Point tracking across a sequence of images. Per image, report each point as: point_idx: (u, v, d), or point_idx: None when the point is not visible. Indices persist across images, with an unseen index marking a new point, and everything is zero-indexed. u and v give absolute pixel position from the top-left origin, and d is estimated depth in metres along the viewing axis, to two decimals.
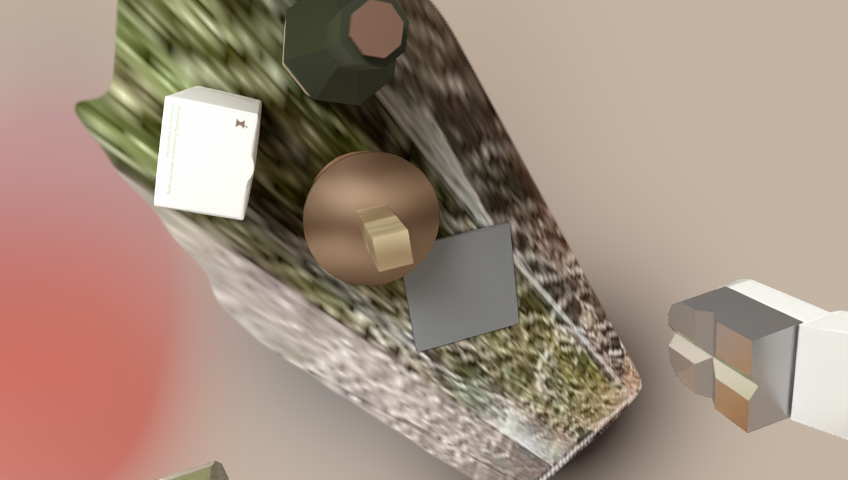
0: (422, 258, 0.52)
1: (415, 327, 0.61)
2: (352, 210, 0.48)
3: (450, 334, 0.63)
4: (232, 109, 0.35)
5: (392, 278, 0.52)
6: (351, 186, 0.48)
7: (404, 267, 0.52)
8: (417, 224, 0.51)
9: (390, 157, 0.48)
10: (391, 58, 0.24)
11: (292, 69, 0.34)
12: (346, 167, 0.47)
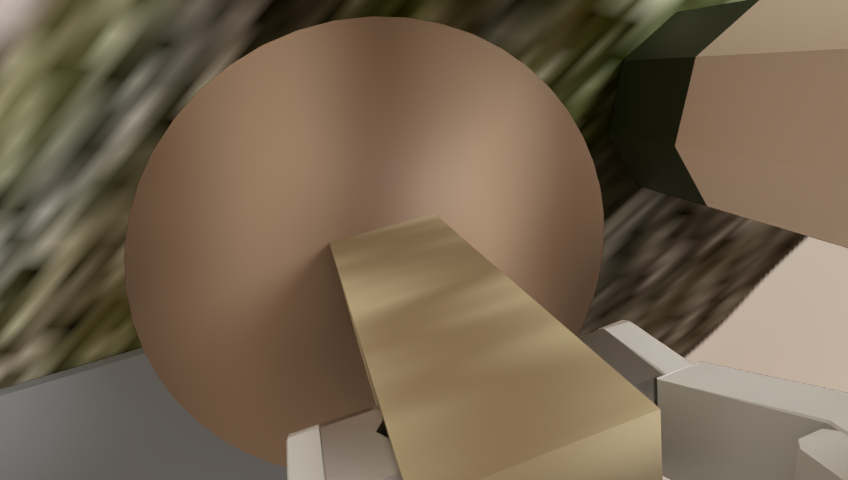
0: (261, 452, 0.15)
1: None
2: (435, 201, 0.14)
3: None
4: None
5: (169, 370, 0.13)
6: (514, 193, 0.14)
7: (221, 403, 0.14)
8: None
9: (585, 299, 0.16)
10: None
11: None
12: (571, 173, 0.15)
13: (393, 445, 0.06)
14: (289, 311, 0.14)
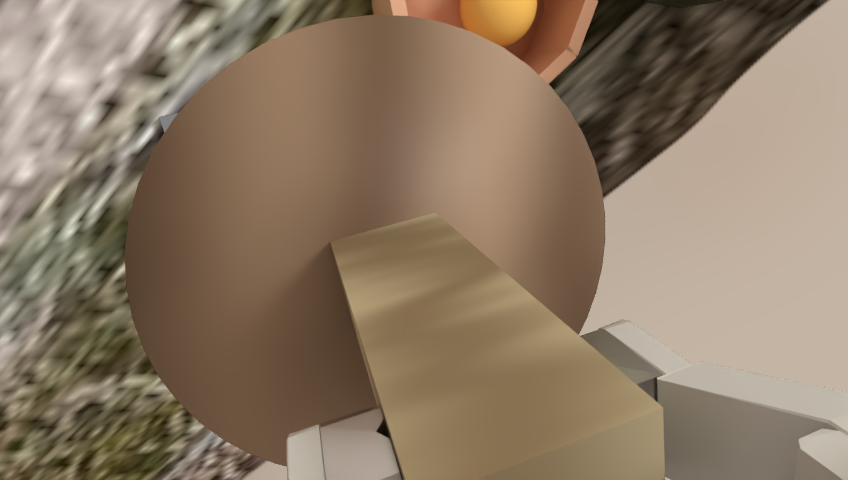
0: (261, 451, 0.15)
1: None
2: (436, 200, 0.14)
3: None
4: None
5: (169, 369, 0.13)
6: (515, 192, 0.14)
7: (221, 402, 0.14)
8: None
9: (586, 299, 0.16)
10: None
11: None
12: (572, 172, 0.15)
13: (395, 443, 0.06)
14: (290, 310, 0.14)
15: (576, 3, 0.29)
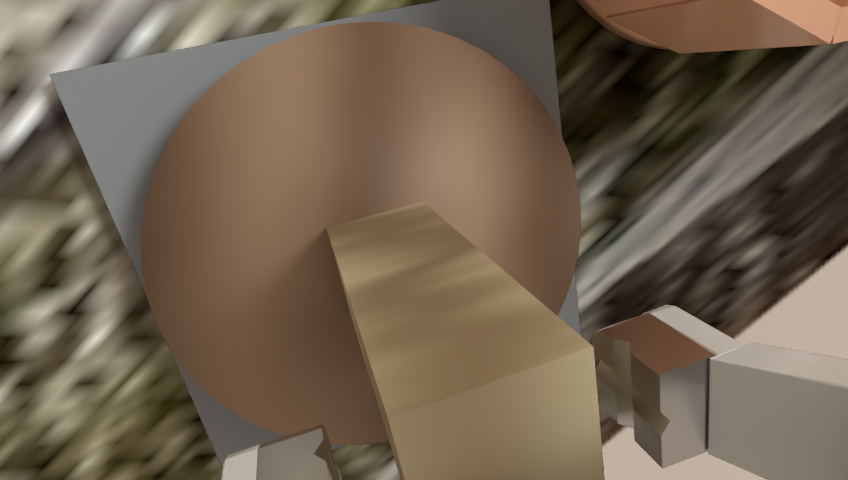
0: (263, 422, 0.16)
1: (197, 61, 0.13)
2: (423, 190, 0.15)
3: None
4: None
5: (180, 343, 0.15)
6: (496, 184, 0.16)
7: (227, 375, 0.15)
8: None
9: (564, 283, 0.18)
10: None
11: None
12: (549, 165, 0.16)
13: (376, 379, 0.07)
14: (289, 291, 0.15)
15: None
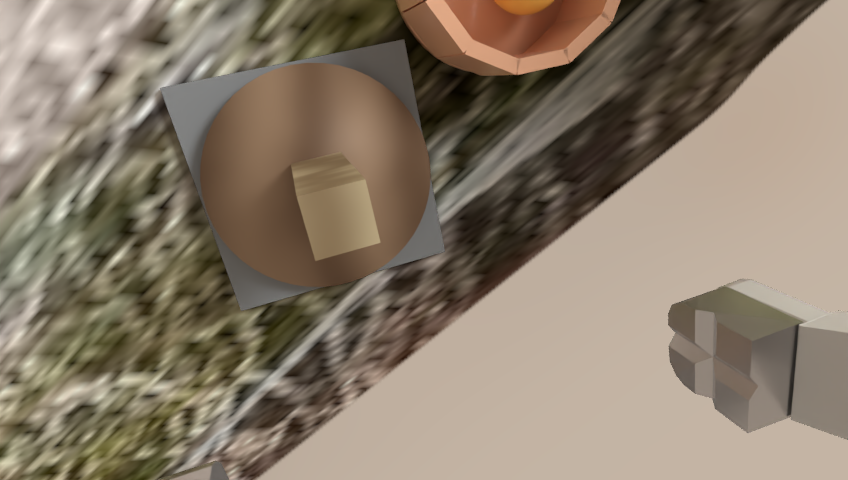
0: (259, 268, 0.31)
1: (227, 81, 0.28)
2: (340, 145, 0.30)
3: None
4: None
5: (217, 221, 0.29)
6: (379, 143, 0.30)
7: (240, 240, 0.30)
8: None
9: (423, 200, 0.32)
10: None
11: None
12: (408, 134, 0.31)
13: (296, 192, 0.22)
14: (272, 196, 0.30)
15: None
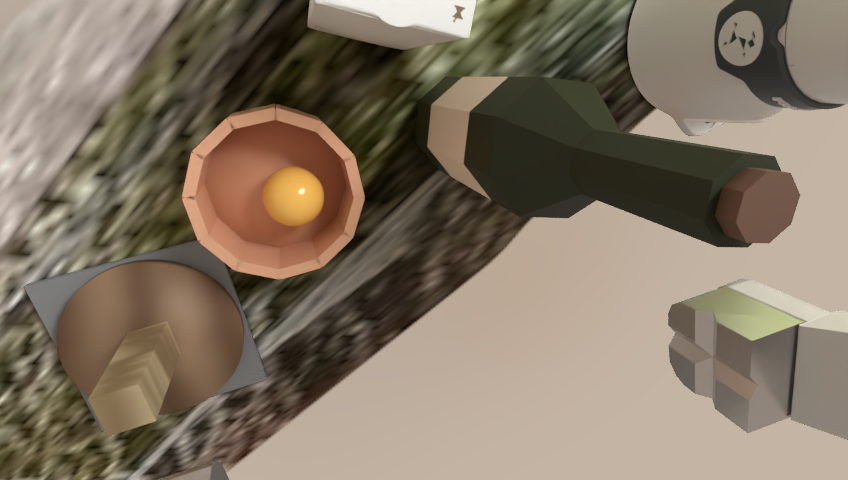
0: None
1: (75, 278, 0.38)
2: (166, 317, 0.40)
3: None
4: (474, 3, 0.26)
5: (73, 375, 0.39)
6: (198, 312, 0.41)
7: (93, 386, 0.40)
8: None
9: (239, 348, 0.42)
10: (712, 229, 0.17)
11: (533, 87, 0.26)
12: (221, 304, 0.41)
13: (93, 391, 0.32)
14: None
15: (351, 197, 0.38)
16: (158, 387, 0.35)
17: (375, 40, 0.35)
